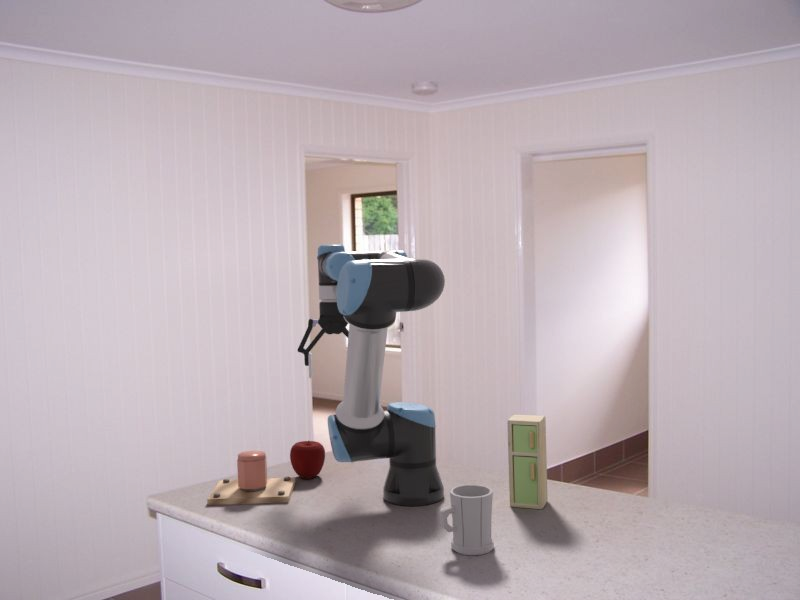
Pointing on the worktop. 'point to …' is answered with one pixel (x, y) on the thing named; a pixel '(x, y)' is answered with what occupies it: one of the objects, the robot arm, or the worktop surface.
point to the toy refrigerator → (527, 461)
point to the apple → (307, 458)
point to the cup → (469, 519)
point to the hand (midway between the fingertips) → (335, 376)
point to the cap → (252, 469)
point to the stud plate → (252, 492)
